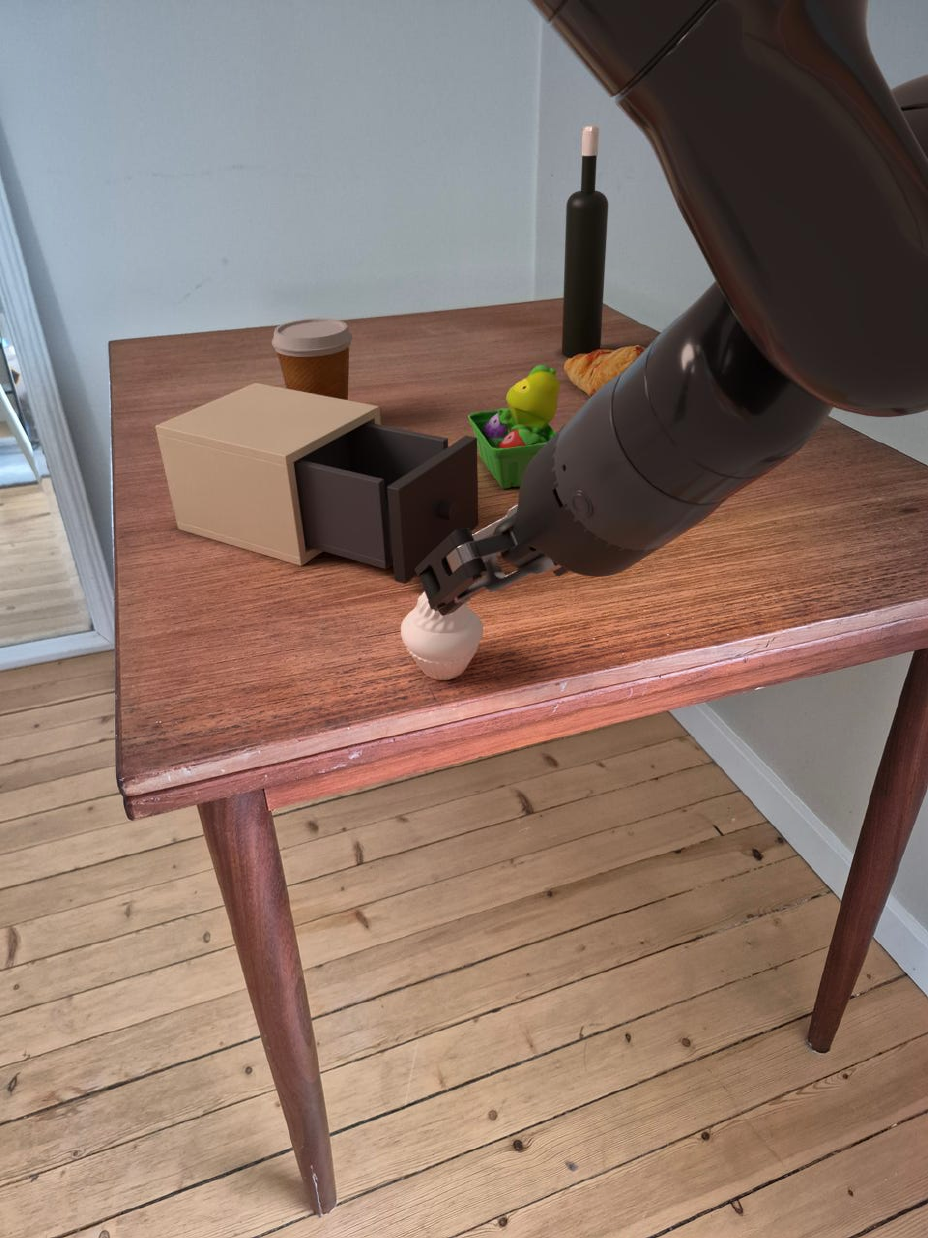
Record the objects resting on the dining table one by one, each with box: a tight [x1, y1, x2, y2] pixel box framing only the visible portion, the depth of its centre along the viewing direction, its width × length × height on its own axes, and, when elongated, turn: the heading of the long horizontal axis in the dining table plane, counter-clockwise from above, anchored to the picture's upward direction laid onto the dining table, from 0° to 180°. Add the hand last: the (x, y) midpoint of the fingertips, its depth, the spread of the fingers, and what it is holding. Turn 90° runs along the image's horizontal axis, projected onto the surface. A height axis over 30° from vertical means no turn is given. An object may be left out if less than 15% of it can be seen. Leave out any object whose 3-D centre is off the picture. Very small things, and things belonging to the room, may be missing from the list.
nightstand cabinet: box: [154, 382, 382, 567], centre depth 88 cm, size 16×14×11 cm
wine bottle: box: [561, 125, 609, 358], centre depth 127 cm, size 6×6×30 cm
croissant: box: [563, 344, 647, 398], centre depth 117 cm, size 21×10×8 cm, turn 43°
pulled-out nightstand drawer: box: [293, 422, 480, 585], centre depth 82 cm, size 16×13×9 cm
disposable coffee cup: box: [271, 317, 353, 401], centre depth 109 cm, size 10×10×12 cm
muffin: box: [400, 591, 484, 681], centre depth 66 cm, size 6×6×7 cm
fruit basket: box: [467, 364, 561, 490], centre depth 96 cm, size 11×9×11 cm
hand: (497, 580), depth 56 cm, fingers open, 8 cm apart
